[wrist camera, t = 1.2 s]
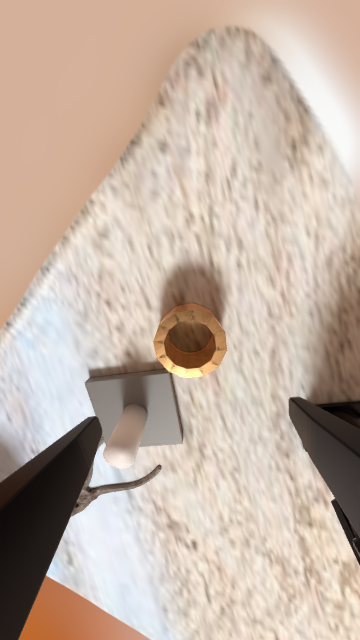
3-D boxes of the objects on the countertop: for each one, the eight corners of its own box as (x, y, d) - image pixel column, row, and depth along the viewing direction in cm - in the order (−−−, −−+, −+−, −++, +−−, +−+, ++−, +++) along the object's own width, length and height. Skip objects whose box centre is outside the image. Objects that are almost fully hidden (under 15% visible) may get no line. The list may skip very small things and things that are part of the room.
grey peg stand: (169, 368, 20) (161, 406, 14) (183, 436, 23) (180, 492, 17) (89, 377, 21) (51, 417, 15) (110, 442, 24) (84, 496, 18)
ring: (216, 299, 18) (222, 305, 14) (222, 355, 19) (229, 373, 16) (155, 308, 18) (148, 316, 15) (166, 362, 20) (161, 380, 17)
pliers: (168, 463, 24) (103, 536, 28) (168, 457, 24) (106, 529, 29) (105, 428, 23) (49, 510, 28) (108, 423, 23) (53, 503, 28)
